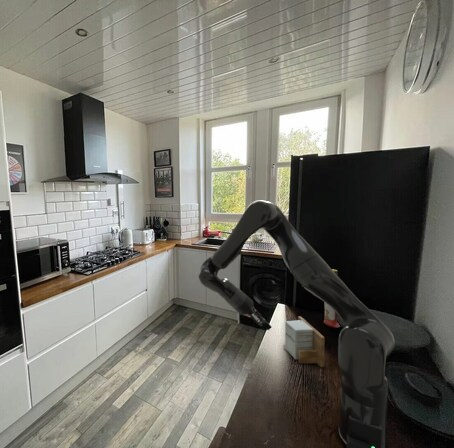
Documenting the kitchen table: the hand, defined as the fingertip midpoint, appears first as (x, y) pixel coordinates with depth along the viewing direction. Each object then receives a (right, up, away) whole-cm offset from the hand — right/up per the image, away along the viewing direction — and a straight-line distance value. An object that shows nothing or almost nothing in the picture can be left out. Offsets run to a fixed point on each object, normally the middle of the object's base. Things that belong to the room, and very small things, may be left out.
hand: (269, 327), depth 100 cm
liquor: (+40, -8, +20) cm, 45 cm away
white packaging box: (+13, -11, +1) cm, 17 cm away
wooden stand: (+14, -11, +1) cm, 18 cm away
